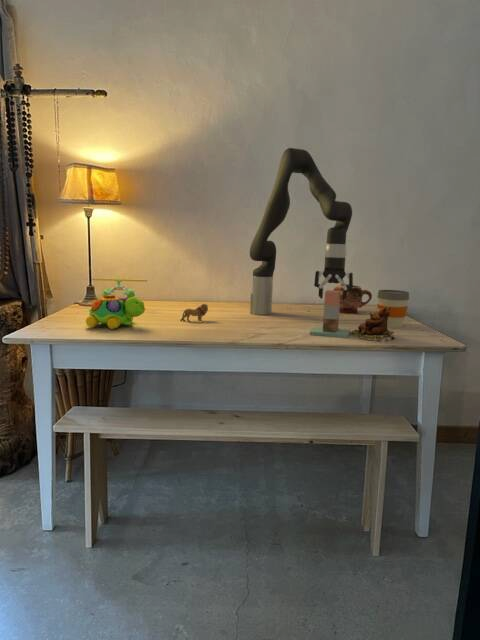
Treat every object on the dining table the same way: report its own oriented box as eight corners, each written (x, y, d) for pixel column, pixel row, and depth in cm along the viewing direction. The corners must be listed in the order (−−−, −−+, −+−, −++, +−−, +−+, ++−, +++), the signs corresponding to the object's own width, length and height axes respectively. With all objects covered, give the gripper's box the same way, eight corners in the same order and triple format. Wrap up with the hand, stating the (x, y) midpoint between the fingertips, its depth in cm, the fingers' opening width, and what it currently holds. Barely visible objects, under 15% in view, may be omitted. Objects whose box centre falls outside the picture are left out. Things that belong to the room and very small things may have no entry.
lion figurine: (206, 319, 206) (206, 303, 205) (209, 321, 202) (209, 304, 201) (178, 321, 202) (178, 303, 201) (181, 322, 198) (181, 305, 197)
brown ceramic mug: (365, 312, 239) (367, 284, 236) (374, 316, 227) (376, 287, 224) (325, 311, 237) (327, 283, 234) (332, 316, 225) (334, 286, 222)
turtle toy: (136, 331, 180) (135, 300, 178) (78, 327, 184) (77, 296, 182) (152, 323, 196) (152, 294, 194) (99, 319, 201) (98, 291, 198)
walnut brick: (322, 331, 183) (323, 318, 182) (325, 328, 190) (326, 315, 189) (336, 332, 182) (336, 319, 181) (338, 329, 188) (338, 316, 188)
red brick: (324, 305, 182) (325, 292, 181) (326, 302, 188) (327, 290, 187) (337, 306, 180) (338, 292, 179) (339, 303, 187) (340, 290, 186)
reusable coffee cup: (390, 331, 194) (393, 293, 191) (368, 325, 205) (371, 290, 202) (412, 329, 200) (416, 292, 197) (390, 323, 211) (393, 289, 208)
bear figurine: (366, 332, 192) (368, 301, 190) (401, 338, 181) (404, 306, 179) (346, 336, 183) (348, 304, 180) (381, 343, 172) (384, 310, 170)
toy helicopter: (148, 308, 231) (148, 278, 228) (145, 311, 222) (145, 280, 219) (95, 307, 229) (94, 276, 226) (90, 310, 220) (89, 278, 218)
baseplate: (309, 334, 182) (309, 331, 182) (314, 328, 194) (314, 325, 194) (347, 338, 178) (347, 334, 178) (350, 331, 190) (350, 328, 189)
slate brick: (323, 318, 182) (324, 305, 182) (326, 315, 189) (326, 302, 188) (336, 319, 181) (337, 306, 180) (338, 316, 188) (339, 303, 187)
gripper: (314, 255, 179) (312, 299, 182) (353, 257, 175) (350, 301, 178) (317, 254, 186) (315, 296, 189) (355, 256, 182) (352, 299, 185)
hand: (332, 299), depth 184 cm, fingers open, 8 cm apart
